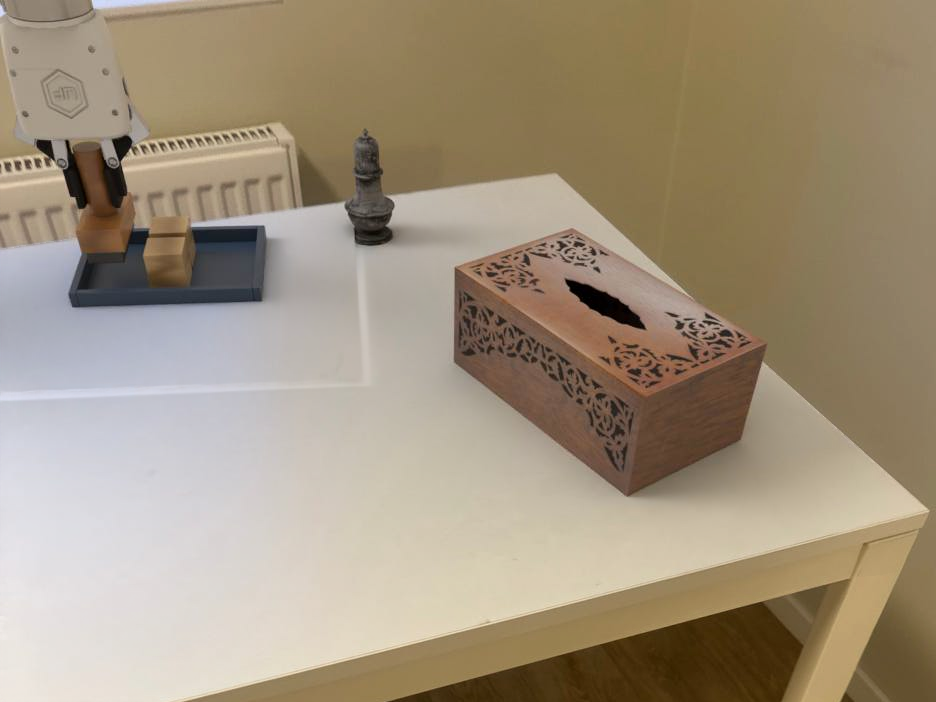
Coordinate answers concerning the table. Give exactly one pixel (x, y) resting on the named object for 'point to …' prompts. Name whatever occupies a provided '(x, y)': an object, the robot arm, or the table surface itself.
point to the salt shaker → (369, 195)
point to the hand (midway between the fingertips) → (101, 201)
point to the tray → (213, 276)
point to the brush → (101, 210)
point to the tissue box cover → (604, 356)
